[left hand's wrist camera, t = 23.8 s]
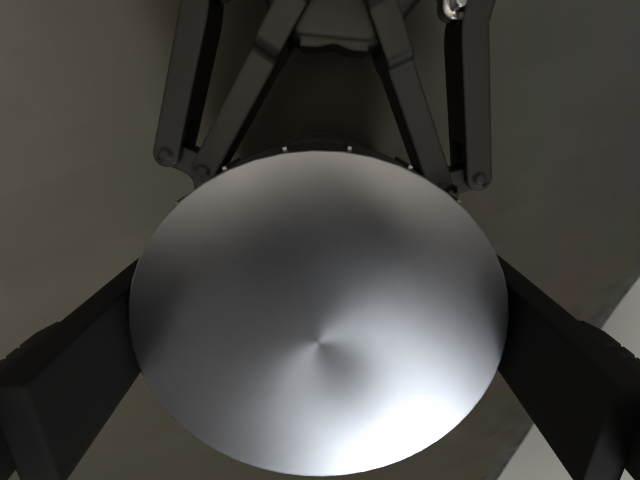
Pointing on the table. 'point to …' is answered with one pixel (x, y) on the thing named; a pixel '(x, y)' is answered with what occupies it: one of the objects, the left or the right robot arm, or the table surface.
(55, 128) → the table surface
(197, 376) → the lid
